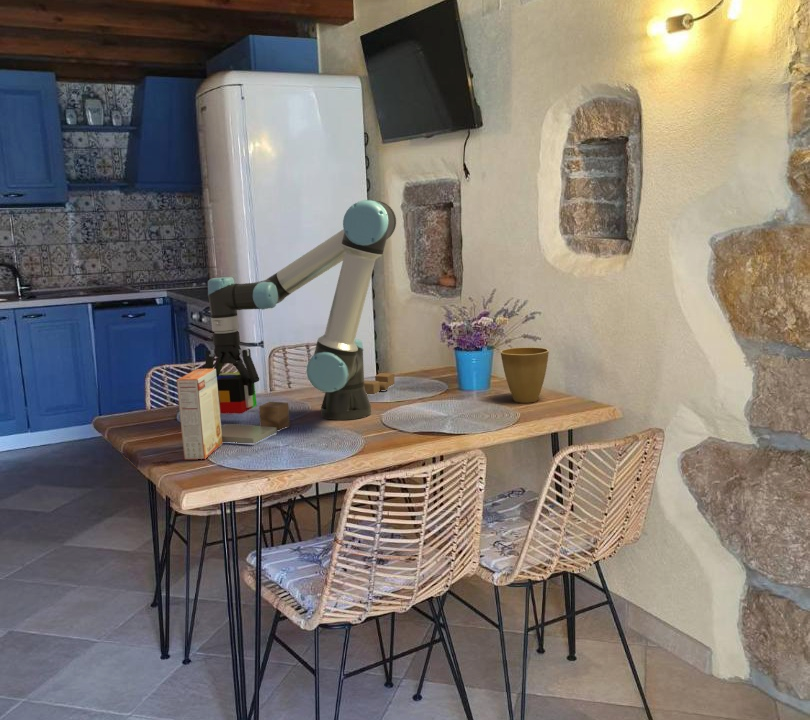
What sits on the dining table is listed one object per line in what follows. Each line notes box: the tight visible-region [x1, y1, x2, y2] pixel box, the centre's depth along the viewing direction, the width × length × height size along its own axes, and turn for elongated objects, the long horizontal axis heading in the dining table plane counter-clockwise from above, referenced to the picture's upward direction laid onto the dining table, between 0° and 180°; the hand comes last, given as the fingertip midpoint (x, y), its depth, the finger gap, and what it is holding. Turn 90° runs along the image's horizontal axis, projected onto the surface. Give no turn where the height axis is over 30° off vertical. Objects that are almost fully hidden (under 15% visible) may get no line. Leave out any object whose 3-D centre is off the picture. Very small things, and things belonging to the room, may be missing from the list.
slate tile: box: [221, 423, 278, 443], centre depth 223 cm, size 16×12×2 cm
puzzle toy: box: [217, 372, 257, 415], centre depth 237 cm, size 10×10×10 cm
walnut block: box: [258, 401, 290, 430], centre depth 232 cm, size 6×6×7 cm
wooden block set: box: [364, 372, 396, 394], centre depth 281 cm, size 17×6×18 cm
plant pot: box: [500, 346, 550, 404], centre depth 255 cm, size 15×15×16 cm
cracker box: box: [176, 368, 223, 461], centre depth 208 cm, size 14×6×21 cm, turn 174°
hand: (233, 406), depth 238 cm, fingers closed on puzzle toy, 10 cm apart
